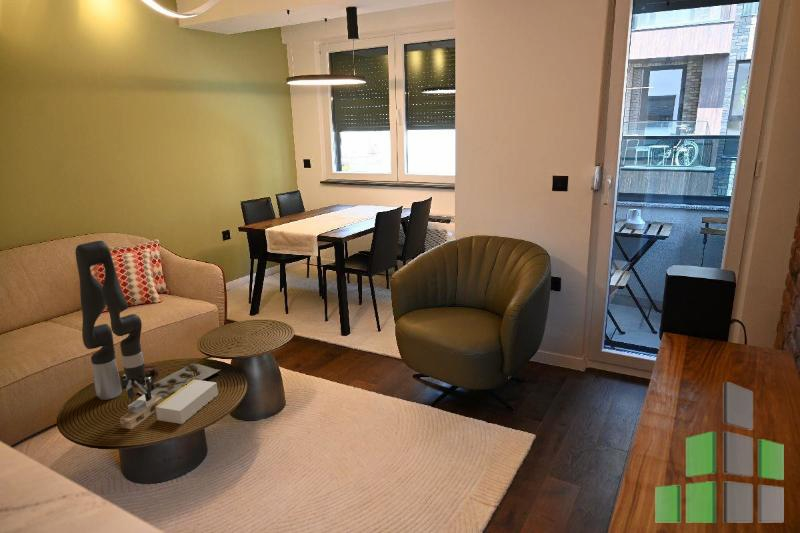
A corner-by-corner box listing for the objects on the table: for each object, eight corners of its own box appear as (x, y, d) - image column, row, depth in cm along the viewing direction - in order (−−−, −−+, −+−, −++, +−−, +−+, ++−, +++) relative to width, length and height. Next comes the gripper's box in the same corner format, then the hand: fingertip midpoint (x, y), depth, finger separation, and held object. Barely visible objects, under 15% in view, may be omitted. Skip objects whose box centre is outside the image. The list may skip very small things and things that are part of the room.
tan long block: (121, 428, 202) (119, 418, 200) (153, 405, 218) (151, 396, 217) (132, 430, 200) (130, 420, 199) (163, 406, 217) (161, 397, 216)
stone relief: (136, 394, 228) (163, 404, 218) (135, 388, 227) (162, 398, 217) (196, 366, 255) (223, 374, 245) (195, 361, 254) (222, 368, 244)
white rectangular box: (157, 420, 206) (155, 406, 204) (195, 391, 228) (193, 379, 227) (182, 424, 203) (180, 410, 201) (218, 394, 225) (216, 382, 223)
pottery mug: (131, 385, 236) (131, 367, 238) (147, 384, 245) (147, 367, 247) (151, 382, 233) (151, 364, 235) (167, 381, 241) (167, 364, 243)
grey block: (128, 412, 204) (127, 405, 204) (137, 407, 208) (136, 400, 208) (137, 414, 203) (136, 407, 202) (145, 408, 207) (144, 401, 206)
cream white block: (137, 406, 209) (136, 399, 208) (145, 401, 213) (144, 394, 212) (146, 407, 208) (145, 400, 207) (154, 402, 212) (152, 395, 211)
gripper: (112, 365, 201) (119, 401, 205) (141, 368, 197) (147, 405, 201) (126, 357, 208) (133, 392, 212) (154, 360, 204) (161, 396, 208)
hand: (140, 399), depth 207 cm, fingers open, 8 cm apart
